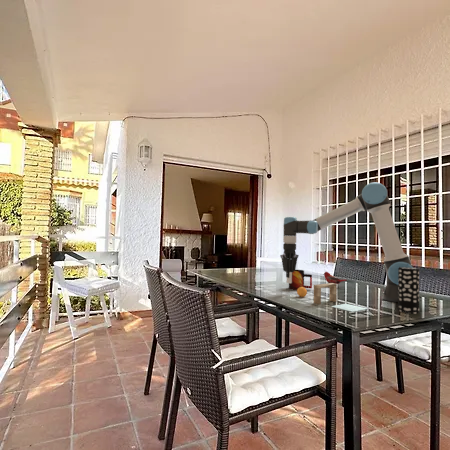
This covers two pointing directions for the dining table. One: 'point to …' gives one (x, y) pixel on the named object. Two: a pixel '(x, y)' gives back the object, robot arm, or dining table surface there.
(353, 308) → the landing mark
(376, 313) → the dining table surface
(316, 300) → the bridge
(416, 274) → the white-spotted black cylinder
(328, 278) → the decorative bird figurine
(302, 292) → the ball
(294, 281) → the mug
